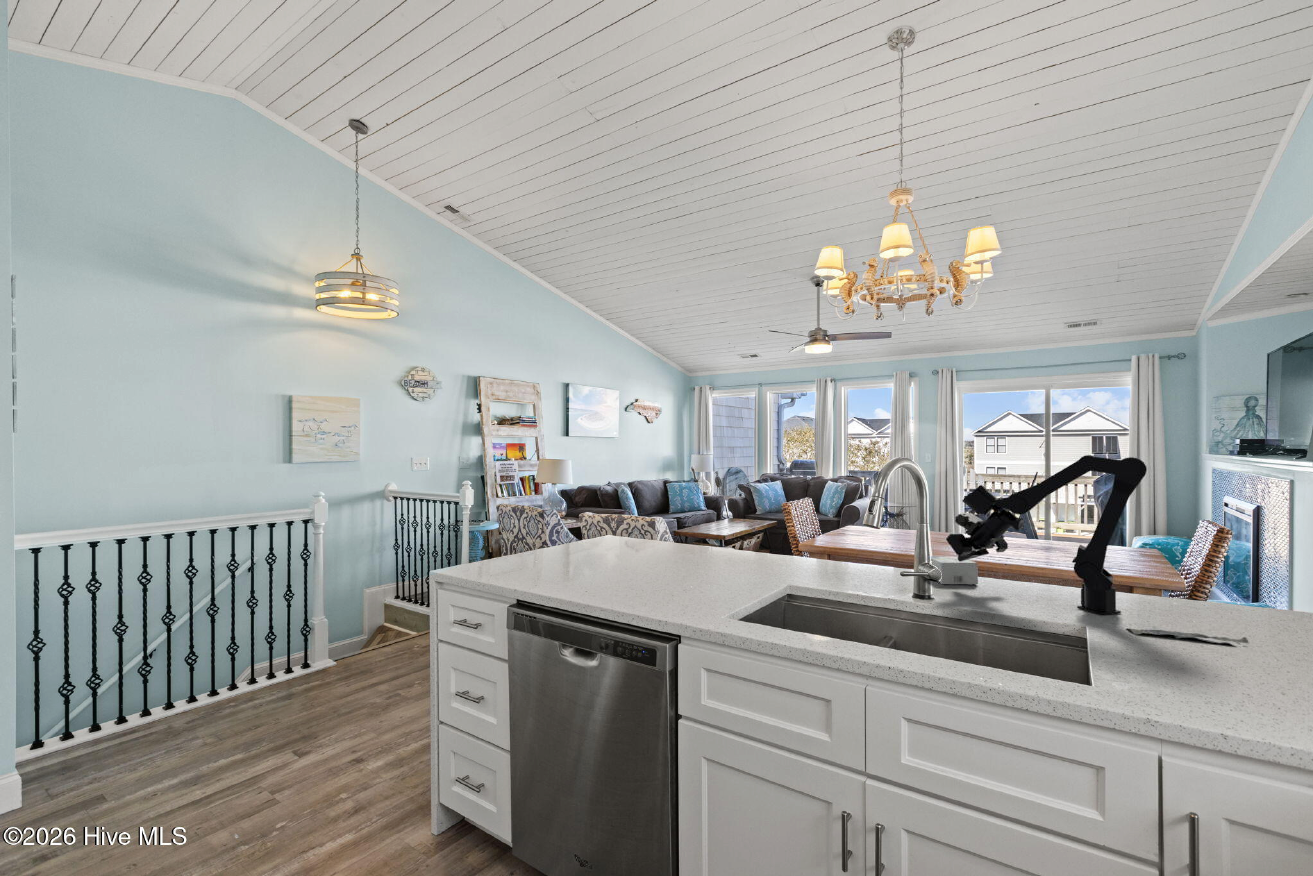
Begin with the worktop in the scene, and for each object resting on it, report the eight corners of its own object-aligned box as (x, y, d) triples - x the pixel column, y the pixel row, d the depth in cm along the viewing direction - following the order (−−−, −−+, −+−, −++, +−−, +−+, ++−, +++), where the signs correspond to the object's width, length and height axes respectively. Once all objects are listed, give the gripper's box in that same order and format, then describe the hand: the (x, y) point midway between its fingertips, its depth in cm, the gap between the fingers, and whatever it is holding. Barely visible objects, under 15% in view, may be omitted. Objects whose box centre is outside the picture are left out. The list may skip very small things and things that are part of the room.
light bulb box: (978, 585, 175) (963, 578, 186) (978, 562, 175) (962, 556, 186) (940, 584, 176) (927, 577, 186) (940, 561, 176) (927, 555, 187)
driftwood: (1129, 637, 130) (1129, 627, 130) (1122, 628, 136) (1123, 619, 136) (1258, 654, 120) (1258, 644, 120) (1245, 644, 126) (1245, 634, 126)
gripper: (998, 503, 173) (964, 536, 183) (951, 505, 165) (919, 539, 175) (1024, 534, 165) (988, 566, 175) (977, 538, 158) (942, 571, 168)
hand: (959, 560), depth 174 cm, fingers closed
